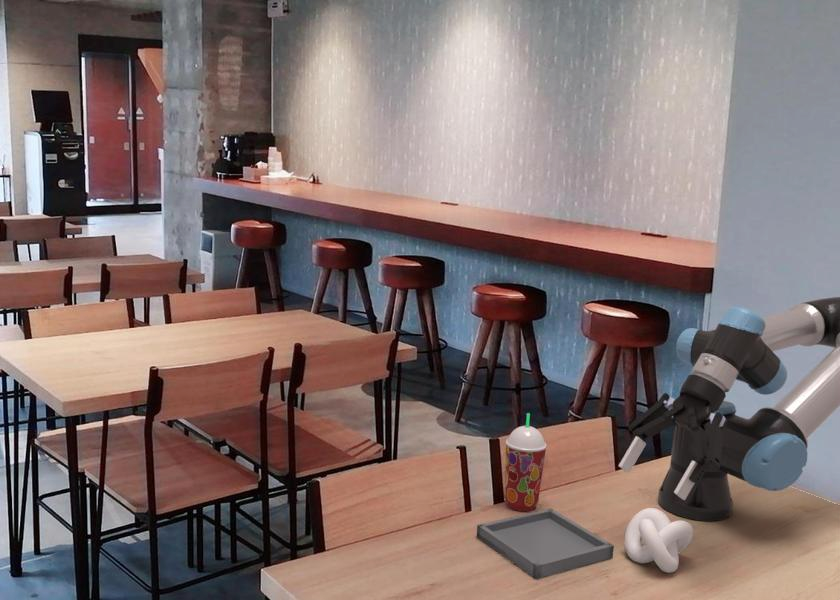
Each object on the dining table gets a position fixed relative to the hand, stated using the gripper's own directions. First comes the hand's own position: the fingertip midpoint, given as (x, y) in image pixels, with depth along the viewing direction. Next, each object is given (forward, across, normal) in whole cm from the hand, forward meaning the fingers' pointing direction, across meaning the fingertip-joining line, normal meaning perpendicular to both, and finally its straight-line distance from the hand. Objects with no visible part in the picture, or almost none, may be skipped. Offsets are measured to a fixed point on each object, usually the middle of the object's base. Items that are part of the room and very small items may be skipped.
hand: (650, 482), depth 163 cm
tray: (+20, -12, -2) cm, 24 cm away
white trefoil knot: (+11, +2, +12) cm, 16 cm away
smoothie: (+16, -29, +5) cm, 34 cm away
